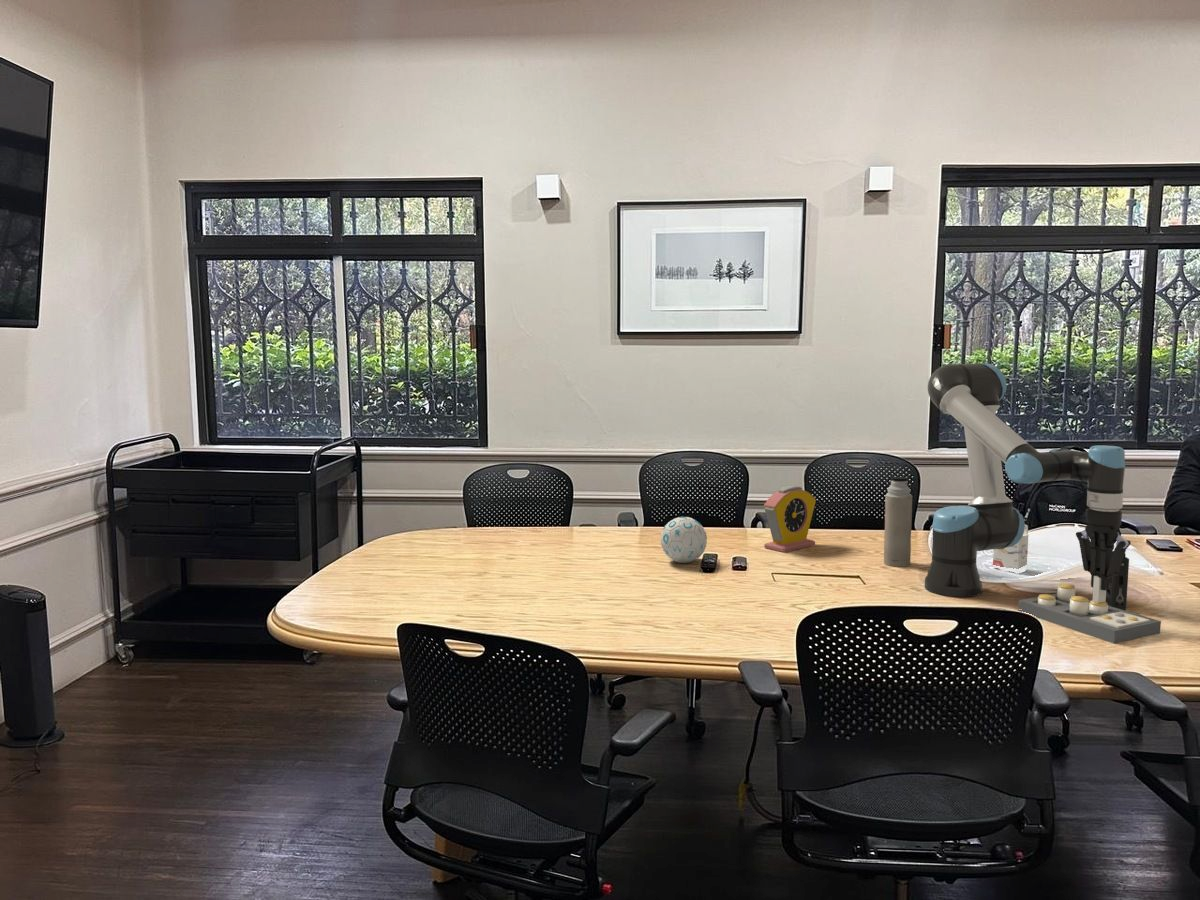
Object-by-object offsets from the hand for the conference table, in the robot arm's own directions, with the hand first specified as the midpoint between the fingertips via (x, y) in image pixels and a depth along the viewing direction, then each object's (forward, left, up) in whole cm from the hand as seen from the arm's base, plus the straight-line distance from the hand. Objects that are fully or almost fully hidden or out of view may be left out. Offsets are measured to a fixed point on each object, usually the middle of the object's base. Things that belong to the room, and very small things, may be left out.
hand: (1099, 601), depth 204 cm
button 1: (-9, -7, -5) cm, 12 cm away
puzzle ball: (-97, -65, -5) cm, 117 cm away
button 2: (-9, 0, -2) cm, 9 cm away
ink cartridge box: (-44, +20, -5) cm, 48 cm away
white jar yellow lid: (0, -7, -2) cm, 7 cm away
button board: (-1, -3, -5) cm, 6 cm away
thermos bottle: (-65, -5, -5) cm, 65 cm away
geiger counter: (-8, +15, -5) cm, 17 cm away
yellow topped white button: (0, 0, -4) cm, 4 cm away
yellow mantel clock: (-99, -22, -5) cm, 101 cm away
